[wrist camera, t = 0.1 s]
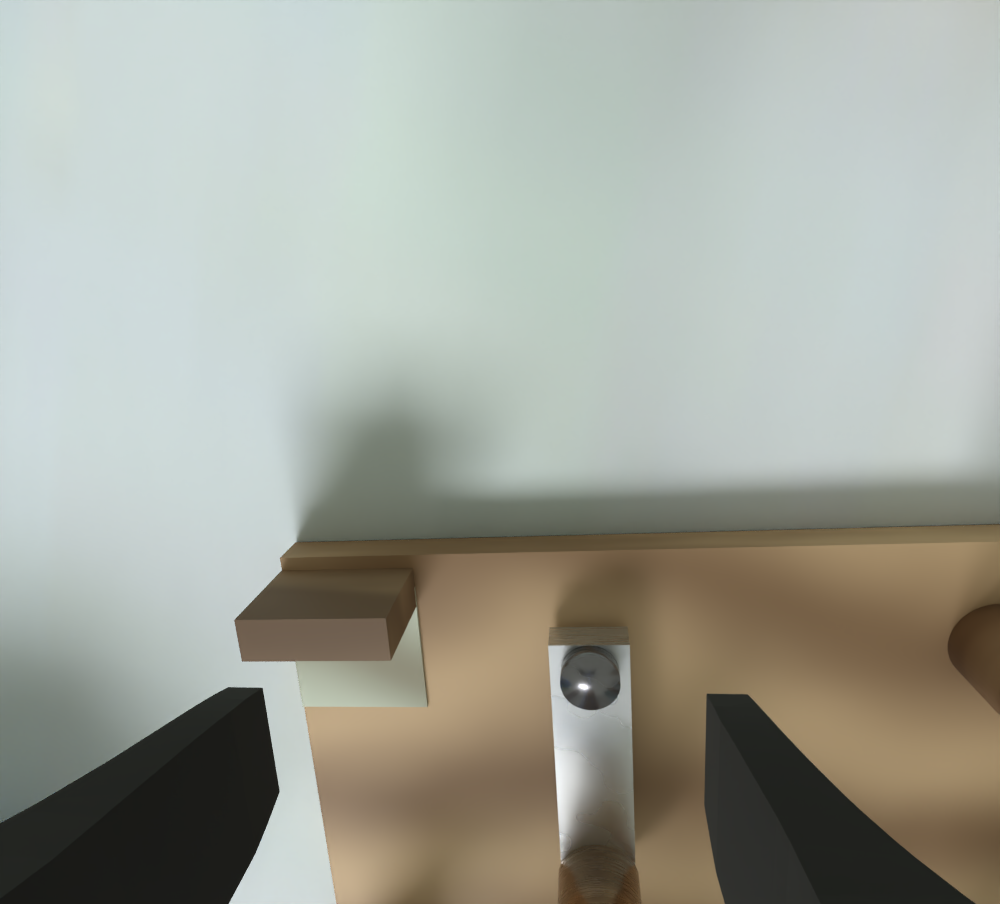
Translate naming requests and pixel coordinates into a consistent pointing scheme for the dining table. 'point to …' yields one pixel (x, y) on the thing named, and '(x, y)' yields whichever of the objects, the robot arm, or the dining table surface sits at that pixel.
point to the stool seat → (635, 693)
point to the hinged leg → (594, 764)
